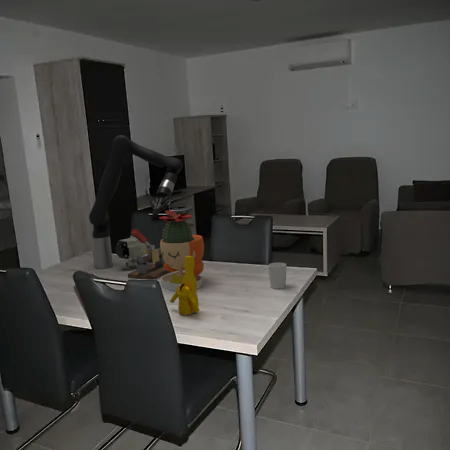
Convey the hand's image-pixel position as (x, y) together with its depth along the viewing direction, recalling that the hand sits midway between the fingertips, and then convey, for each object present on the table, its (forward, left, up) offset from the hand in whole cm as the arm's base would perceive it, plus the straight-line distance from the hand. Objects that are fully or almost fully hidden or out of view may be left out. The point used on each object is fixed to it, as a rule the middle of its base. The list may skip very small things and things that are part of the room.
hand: (154, 216), depth 233 cm
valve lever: (0, -6, -15) cm, 16 cm away
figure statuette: (+47, -50, -30) cm, 75 cm away
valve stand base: (0, -6, -29) cm, 30 cm away
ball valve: (-17, +2, -29) cm, 34 cm away
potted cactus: (+26, -17, -29) cm, 43 cm away
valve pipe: (0, -6, -27) cm, 28 cm away
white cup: (+70, -10, -30) cm, 77 cm away
